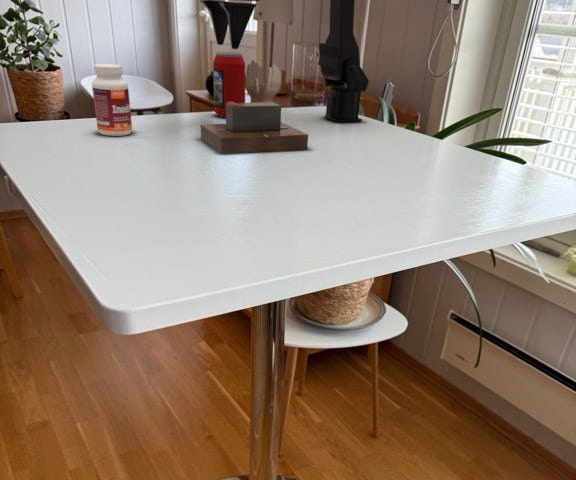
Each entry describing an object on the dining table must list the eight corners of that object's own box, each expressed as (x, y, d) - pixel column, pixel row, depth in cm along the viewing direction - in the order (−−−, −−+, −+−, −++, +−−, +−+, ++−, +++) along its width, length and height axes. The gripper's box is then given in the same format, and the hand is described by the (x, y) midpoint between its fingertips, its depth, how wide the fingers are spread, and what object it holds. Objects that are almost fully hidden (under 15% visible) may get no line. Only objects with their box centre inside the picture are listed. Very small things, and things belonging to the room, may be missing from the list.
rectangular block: (273, 126, 103) (273, 100, 101) (280, 130, 100) (281, 104, 98) (226, 127, 100) (225, 101, 97) (232, 132, 97) (232, 104, 95)
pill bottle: (118, 138, 101) (110, 68, 95) (90, 133, 103) (81, 64, 96) (139, 132, 106) (133, 65, 99) (112, 128, 107) (104, 62, 101)
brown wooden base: (279, 135, 109) (280, 120, 108) (308, 150, 99) (309, 134, 98) (200, 138, 104) (199, 122, 102) (222, 154, 94) (221, 137, 92)
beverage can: (215, 112, 127) (213, 51, 120) (245, 114, 127) (245, 52, 120) (213, 118, 121) (211, 53, 114) (244, 119, 122) (244, 55, 115)
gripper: (167, -61, 101) (173, 41, 109) (193, -68, 86) (198, 50, 95) (227, -55, 104) (228, 43, 113) (261, -61, 90) (259, 51, 99)
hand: (227, 46), depth 105 cm, fingers open, 9 cm apart
